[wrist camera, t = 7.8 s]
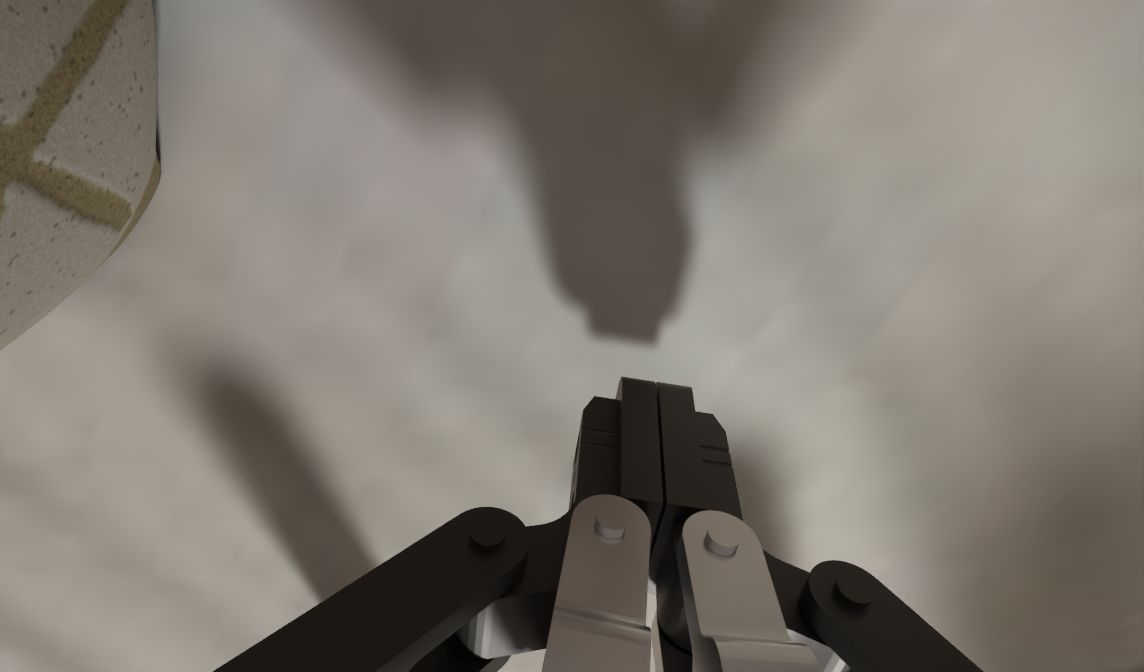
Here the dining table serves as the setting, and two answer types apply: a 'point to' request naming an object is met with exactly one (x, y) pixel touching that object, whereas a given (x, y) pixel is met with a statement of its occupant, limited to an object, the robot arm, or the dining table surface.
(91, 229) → the planter
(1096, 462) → the dining table surface
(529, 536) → the robot arm
